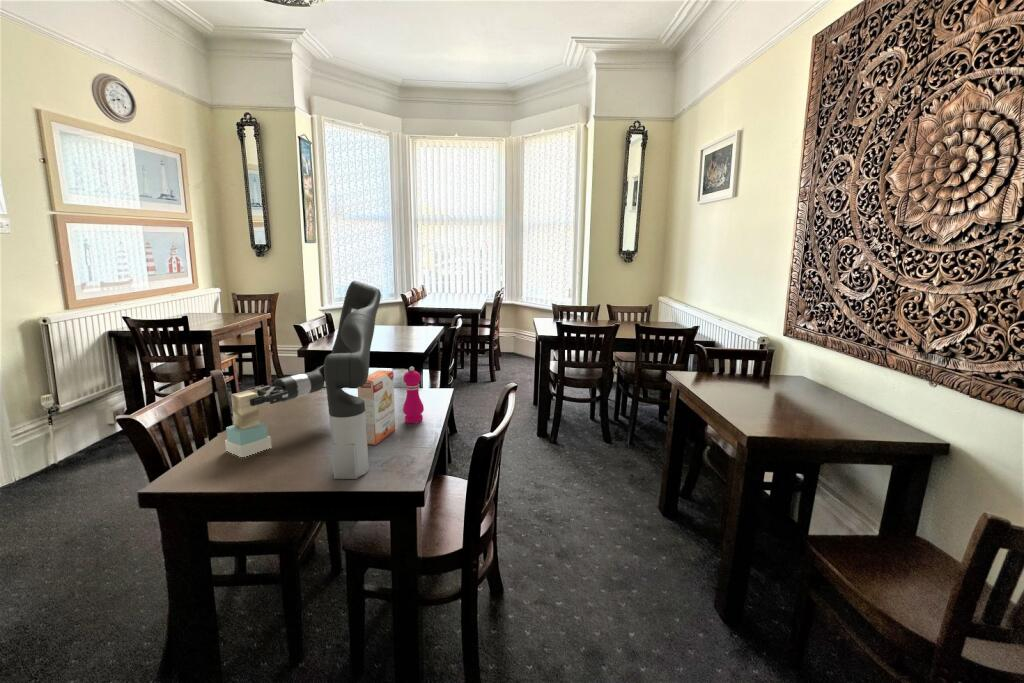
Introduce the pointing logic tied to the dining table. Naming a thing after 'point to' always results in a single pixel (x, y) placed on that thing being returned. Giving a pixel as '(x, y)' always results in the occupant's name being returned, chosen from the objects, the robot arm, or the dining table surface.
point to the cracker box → (378, 405)
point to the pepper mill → (412, 397)
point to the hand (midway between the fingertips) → (242, 400)
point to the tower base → (248, 447)
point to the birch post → (244, 410)
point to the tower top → (246, 434)
